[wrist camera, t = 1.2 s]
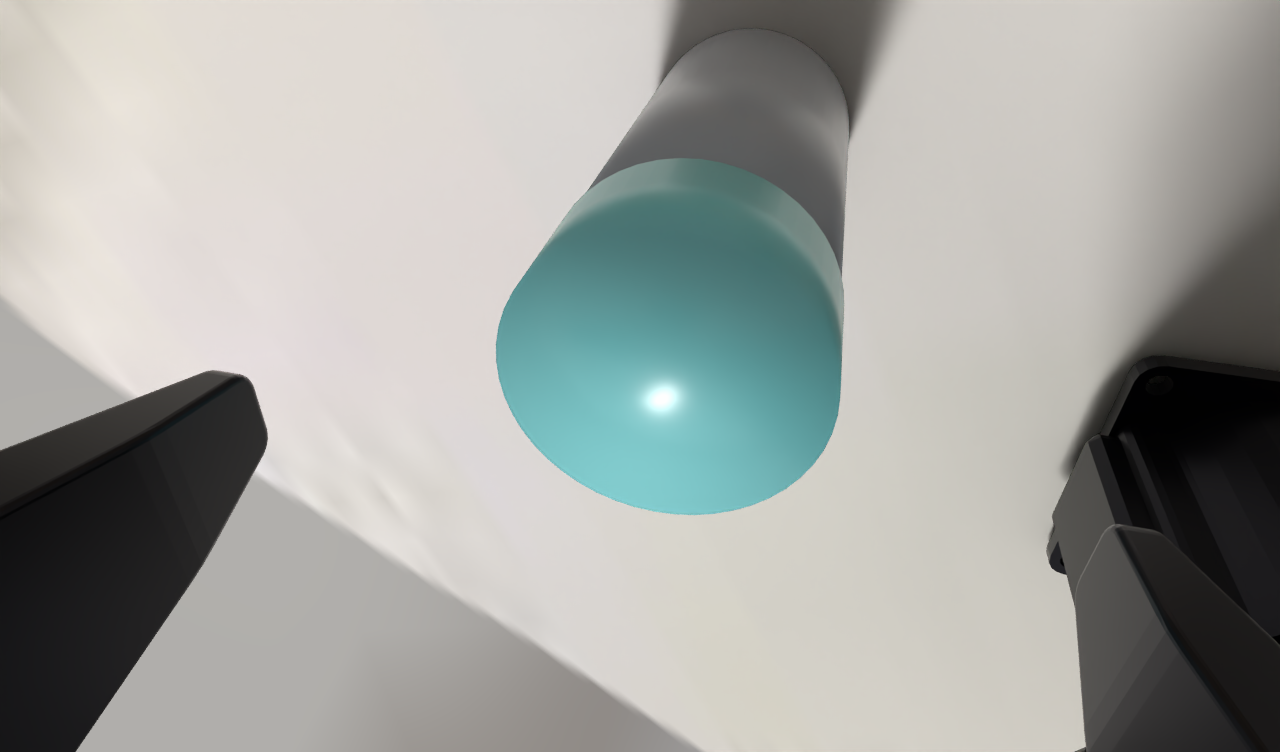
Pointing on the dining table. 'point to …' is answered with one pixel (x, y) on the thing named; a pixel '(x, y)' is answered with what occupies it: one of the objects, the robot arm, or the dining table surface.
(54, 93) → the dining table surface
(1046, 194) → the dining table surface
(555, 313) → the marker
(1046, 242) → the dining table surface
